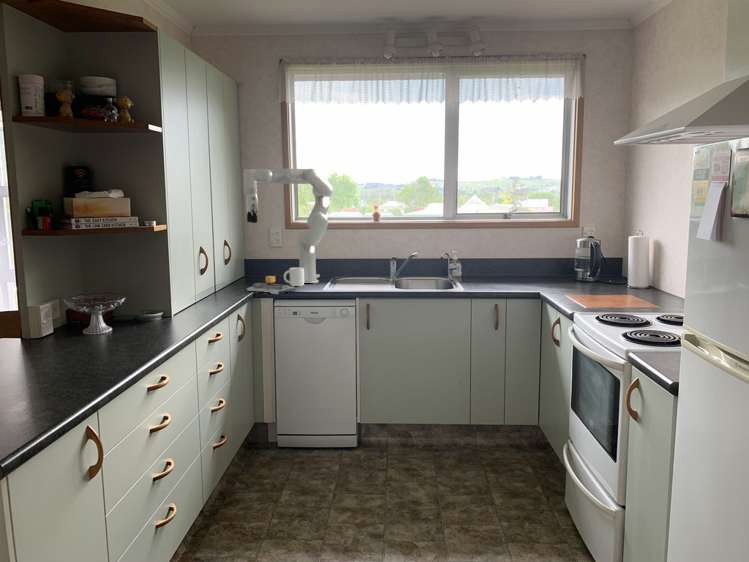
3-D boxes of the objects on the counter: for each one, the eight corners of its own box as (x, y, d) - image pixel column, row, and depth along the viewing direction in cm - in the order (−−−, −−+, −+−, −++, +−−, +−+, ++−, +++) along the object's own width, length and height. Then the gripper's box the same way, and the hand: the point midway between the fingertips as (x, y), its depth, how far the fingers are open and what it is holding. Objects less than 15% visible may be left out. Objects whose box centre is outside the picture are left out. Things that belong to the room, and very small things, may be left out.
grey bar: (294, 290, 331) (294, 288, 330) (296, 290, 330) (296, 288, 330) (279, 294, 319) (279, 291, 319) (281, 294, 318) (281, 291, 318)
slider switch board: (263, 287, 341) (263, 281, 341) (294, 290, 331) (293, 284, 331) (247, 291, 329) (247, 285, 328) (278, 294, 319) (278, 287, 318)
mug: (282, 287, 344) (281, 269, 342) (285, 284, 352) (285, 267, 350) (302, 287, 342) (302, 269, 341) (306, 284, 350) (305, 267, 349)
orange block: (270, 286, 332) (270, 275, 331) (275, 286, 331) (275, 276, 330) (265, 287, 329) (265, 276, 328) (271, 287, 327) (270, 277, 326)
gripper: (261, 191, 330) (262, 222, 332) (253, 191, 345) (255, 221, 348) (248, 191, 327) (249, 223, 329) (240, 191, 342) (242, 221, 345)
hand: (252, 222), depth 338 cm, fingers open, 9 cm apart
